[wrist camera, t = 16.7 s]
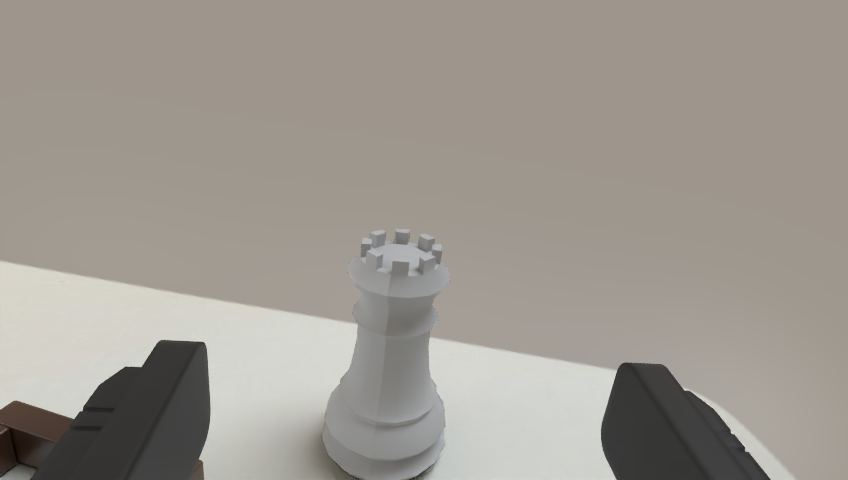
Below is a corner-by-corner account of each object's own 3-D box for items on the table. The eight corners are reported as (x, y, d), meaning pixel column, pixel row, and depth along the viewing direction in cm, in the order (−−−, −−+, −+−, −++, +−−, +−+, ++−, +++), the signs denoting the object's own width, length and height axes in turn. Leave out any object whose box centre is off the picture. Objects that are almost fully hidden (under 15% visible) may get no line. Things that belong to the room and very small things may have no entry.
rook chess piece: (432, 505, 18) (464, 289, 15) (302, 475, 19) (306, 261, 15) (451, 415, 22) (479, 230, 19) (343, 392, 23) (354, 209, 20)
